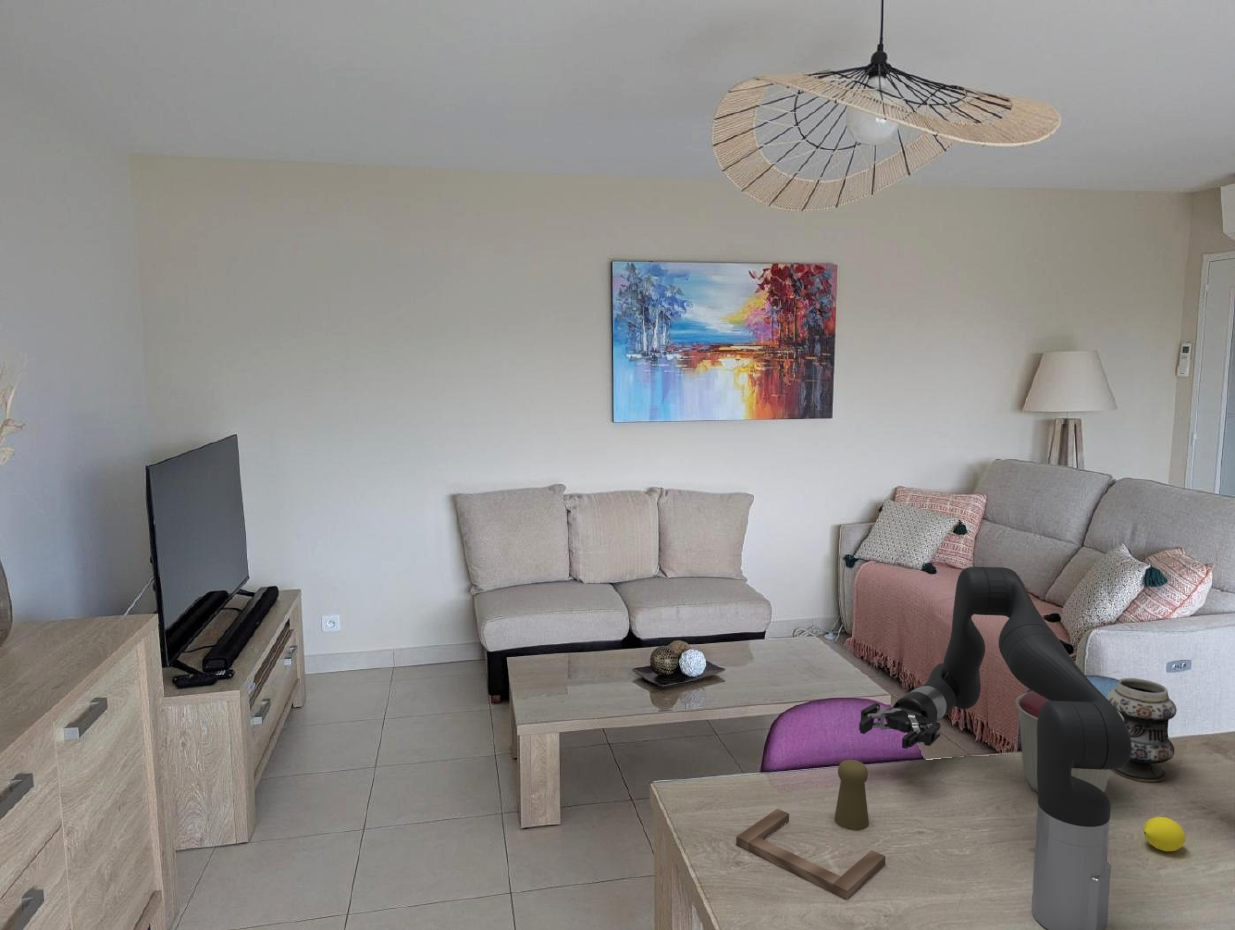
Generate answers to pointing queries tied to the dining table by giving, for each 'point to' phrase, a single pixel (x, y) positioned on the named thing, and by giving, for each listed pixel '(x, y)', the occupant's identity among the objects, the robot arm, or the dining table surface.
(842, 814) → the cork
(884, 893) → the dining table surface
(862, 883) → the walnut cradle
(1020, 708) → the canister
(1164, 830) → the lemon
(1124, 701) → the apothecary jar
